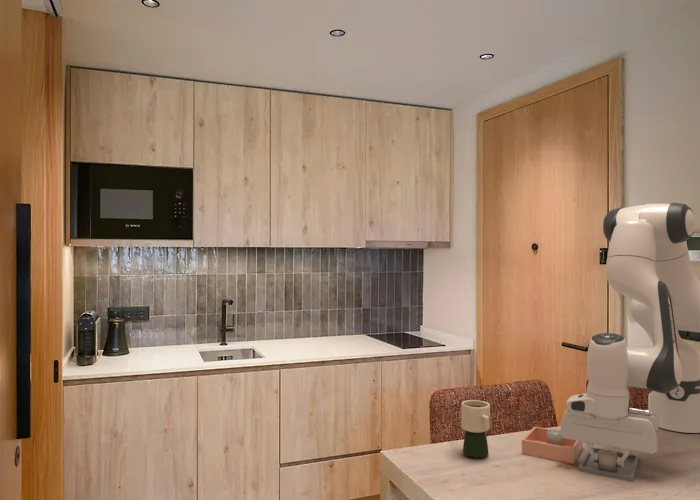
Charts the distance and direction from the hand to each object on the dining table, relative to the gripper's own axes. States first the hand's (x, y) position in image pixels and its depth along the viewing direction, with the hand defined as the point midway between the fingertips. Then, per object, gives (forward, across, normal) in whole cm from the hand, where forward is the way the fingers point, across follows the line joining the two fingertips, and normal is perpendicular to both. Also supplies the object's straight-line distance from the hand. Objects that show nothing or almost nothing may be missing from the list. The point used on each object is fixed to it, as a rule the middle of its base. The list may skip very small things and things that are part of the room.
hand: (607, 464), depth 127 cm
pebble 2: (+1, 0, 0) cm, 1 cm away
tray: (+2, 0, -4) cm, 4 cm away
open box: (+2, +13, -6) cm, 15 cm away
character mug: (+2, +29, +6) cm, 30 cm away
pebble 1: (+1, +13, -8) cm, 16 cm away
